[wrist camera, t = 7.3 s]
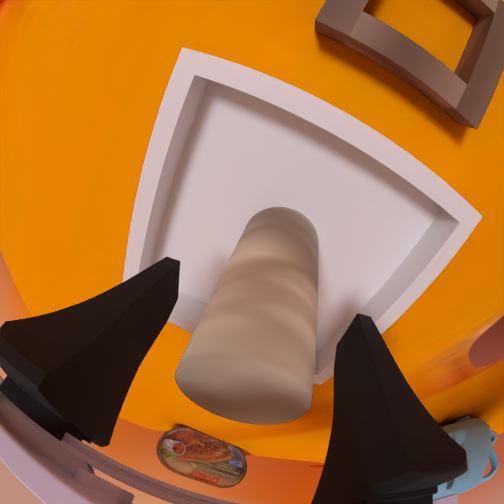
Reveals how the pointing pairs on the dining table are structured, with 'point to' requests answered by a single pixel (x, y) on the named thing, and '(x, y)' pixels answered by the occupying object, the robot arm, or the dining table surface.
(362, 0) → the frame
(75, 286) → the dining table surface
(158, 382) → the dining table surface
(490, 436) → the decorative pot
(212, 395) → the dowel
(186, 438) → the tin
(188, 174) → the tray
